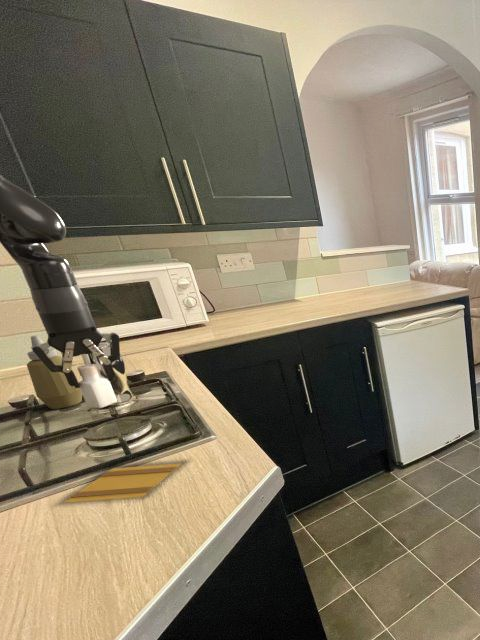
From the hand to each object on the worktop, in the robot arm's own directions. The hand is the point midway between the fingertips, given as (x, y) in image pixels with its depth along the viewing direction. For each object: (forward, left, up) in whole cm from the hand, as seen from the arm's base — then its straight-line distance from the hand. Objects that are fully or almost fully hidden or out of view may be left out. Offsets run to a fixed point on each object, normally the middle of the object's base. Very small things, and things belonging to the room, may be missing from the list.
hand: (94, 383), depth 94 cm
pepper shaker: (0, 0, -6) cm, 6 cm away
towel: (+25, -29, -9) cm, 39 cm away
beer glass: (-5, +11, -9) cm, 15 cm away
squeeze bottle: (-18, +11, -9) cm, 23 cm away
